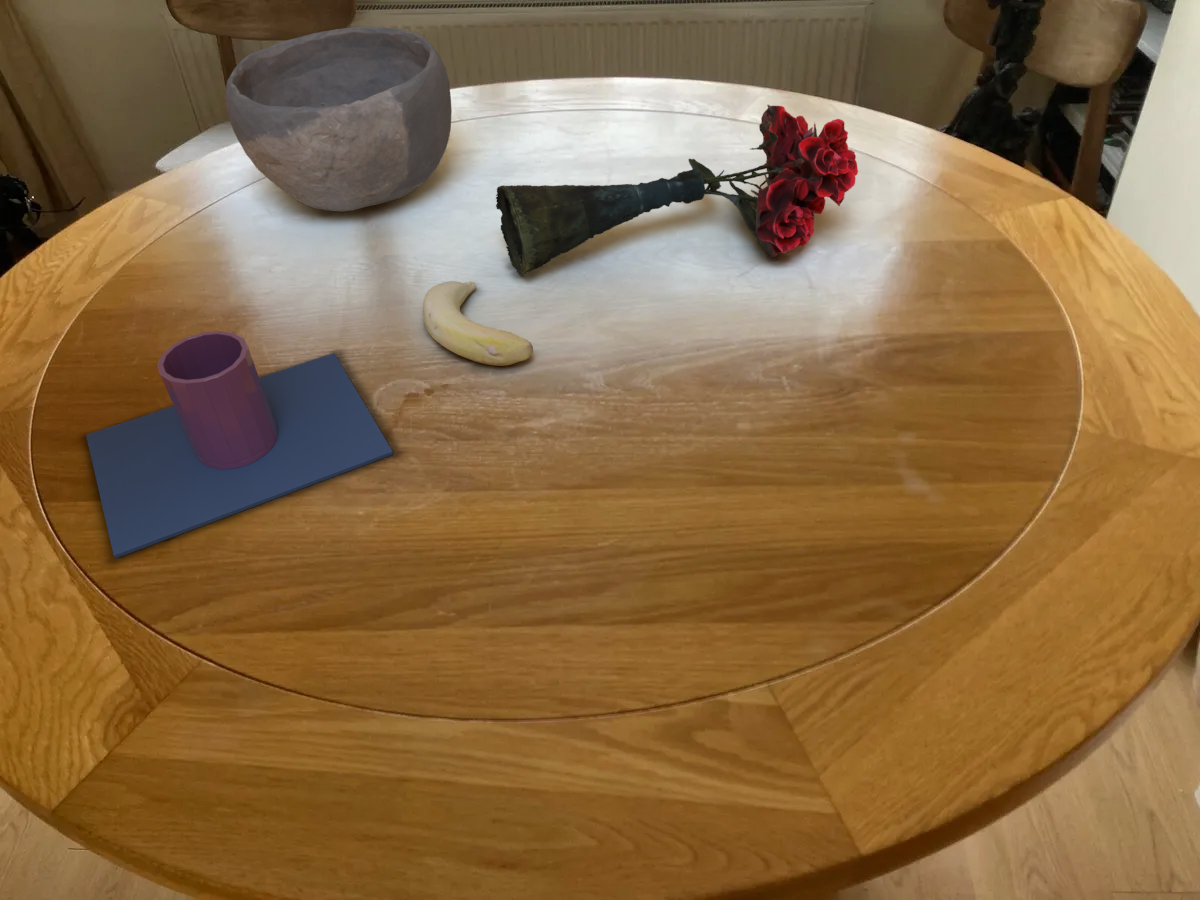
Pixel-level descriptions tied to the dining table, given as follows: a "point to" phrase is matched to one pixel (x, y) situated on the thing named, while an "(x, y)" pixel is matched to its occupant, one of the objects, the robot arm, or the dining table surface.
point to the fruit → (469, 328)
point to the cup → (219, 399)
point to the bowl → (343, 115)
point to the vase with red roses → (691, 195)
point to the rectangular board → (204, 495)
